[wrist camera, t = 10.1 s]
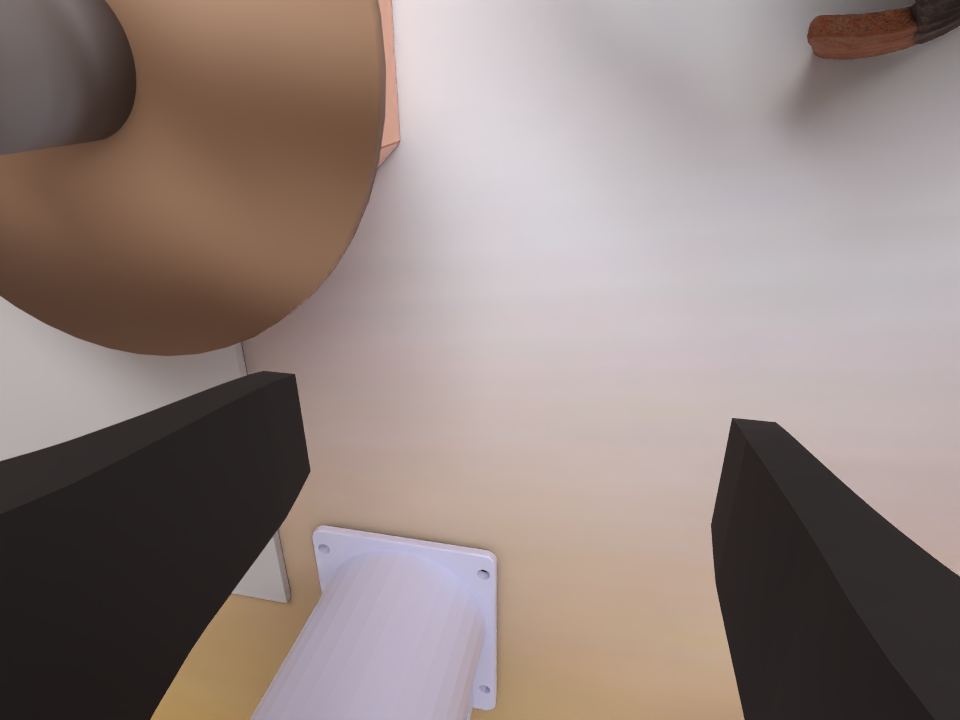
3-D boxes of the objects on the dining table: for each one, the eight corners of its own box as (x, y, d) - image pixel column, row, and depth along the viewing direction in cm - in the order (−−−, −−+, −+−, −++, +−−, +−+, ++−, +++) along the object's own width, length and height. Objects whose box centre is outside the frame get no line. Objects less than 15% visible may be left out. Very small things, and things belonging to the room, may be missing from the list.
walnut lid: (398, 377, 16) (353, 438, 14) (-57, 317, 19) (-166, 358, 17) (366, -452, 10) (268, -640, 7) (-323, -360, 13) (-574, -471, 10)
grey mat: (291, 597, 29) (286, 603, 29) (13, 546, 32) (6, 552, 32) (227, 272, 22) (220, 275, 22) (-120, 249, 25) (-130, 252, 25)
